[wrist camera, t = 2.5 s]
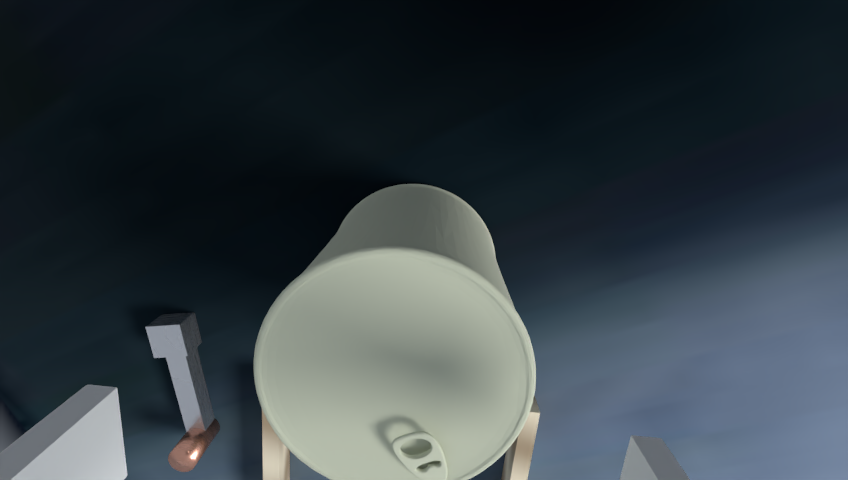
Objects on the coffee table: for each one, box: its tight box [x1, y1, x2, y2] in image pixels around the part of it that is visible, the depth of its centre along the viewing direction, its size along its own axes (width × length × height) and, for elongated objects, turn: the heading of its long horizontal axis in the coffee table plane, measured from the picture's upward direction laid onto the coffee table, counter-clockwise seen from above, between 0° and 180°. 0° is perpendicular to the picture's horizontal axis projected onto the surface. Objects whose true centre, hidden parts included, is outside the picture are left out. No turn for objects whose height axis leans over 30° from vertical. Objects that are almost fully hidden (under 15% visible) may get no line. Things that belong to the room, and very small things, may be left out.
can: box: [253, 184, 536, 480], centre depth 20 cm, size 9×9×12 cm
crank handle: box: [145, 312, 220, 472], centre depth 26 cm, size 9×2×3 cm, turn 5°
